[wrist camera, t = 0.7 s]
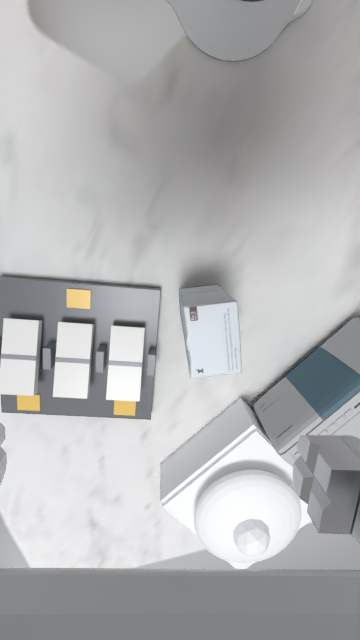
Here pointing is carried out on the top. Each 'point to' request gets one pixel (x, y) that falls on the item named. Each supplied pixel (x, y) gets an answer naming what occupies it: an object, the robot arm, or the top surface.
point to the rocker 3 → (125, 363)
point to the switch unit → (103, 311)
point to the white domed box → (233, 489)
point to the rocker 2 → (73, 360)
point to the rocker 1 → (20, 356)
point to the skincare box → (210, 331)
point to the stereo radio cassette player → (316, 395)
